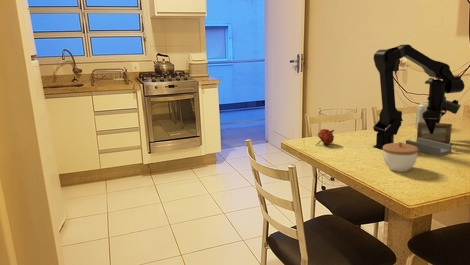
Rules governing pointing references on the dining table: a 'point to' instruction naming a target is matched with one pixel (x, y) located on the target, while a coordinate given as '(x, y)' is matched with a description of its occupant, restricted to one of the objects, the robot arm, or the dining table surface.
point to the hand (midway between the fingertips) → (433, 131)
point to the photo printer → (420, 113)
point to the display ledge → (431, 146)
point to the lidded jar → (400, 156)
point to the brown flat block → (435, 132)
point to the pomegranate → (326, 136)
